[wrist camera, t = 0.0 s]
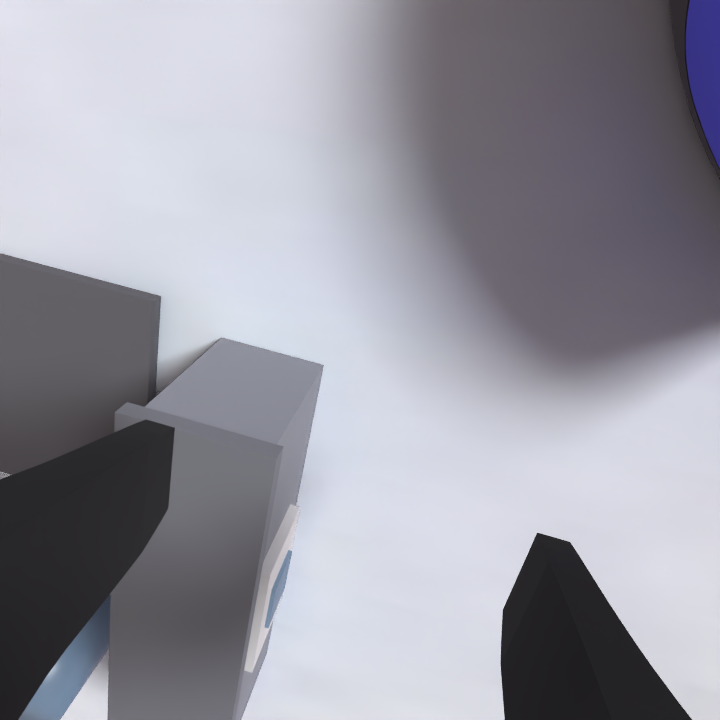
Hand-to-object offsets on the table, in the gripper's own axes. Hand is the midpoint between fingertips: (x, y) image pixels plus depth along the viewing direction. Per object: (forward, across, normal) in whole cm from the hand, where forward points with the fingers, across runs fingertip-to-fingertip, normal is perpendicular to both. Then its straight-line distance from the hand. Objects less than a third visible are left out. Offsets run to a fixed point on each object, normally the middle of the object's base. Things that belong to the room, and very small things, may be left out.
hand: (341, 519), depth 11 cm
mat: (+10, +14, +6) cm, 18 cm away
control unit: (+10, +4, +10) cm, 15 cm away
